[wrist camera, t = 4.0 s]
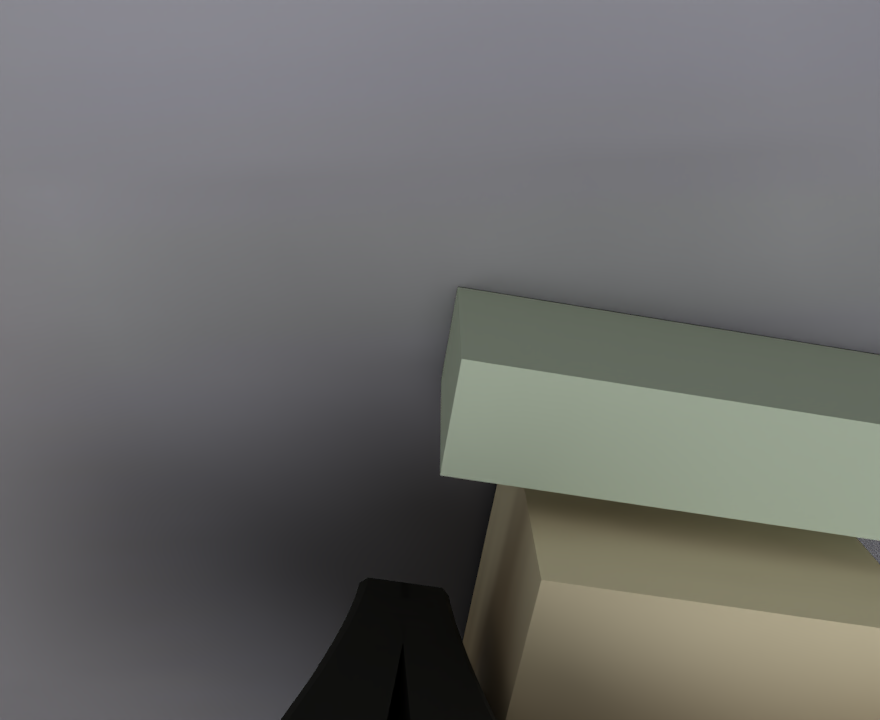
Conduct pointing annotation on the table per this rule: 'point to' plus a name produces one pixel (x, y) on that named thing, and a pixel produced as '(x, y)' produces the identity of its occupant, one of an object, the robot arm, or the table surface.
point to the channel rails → (661, 414)
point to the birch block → (669, 615)
